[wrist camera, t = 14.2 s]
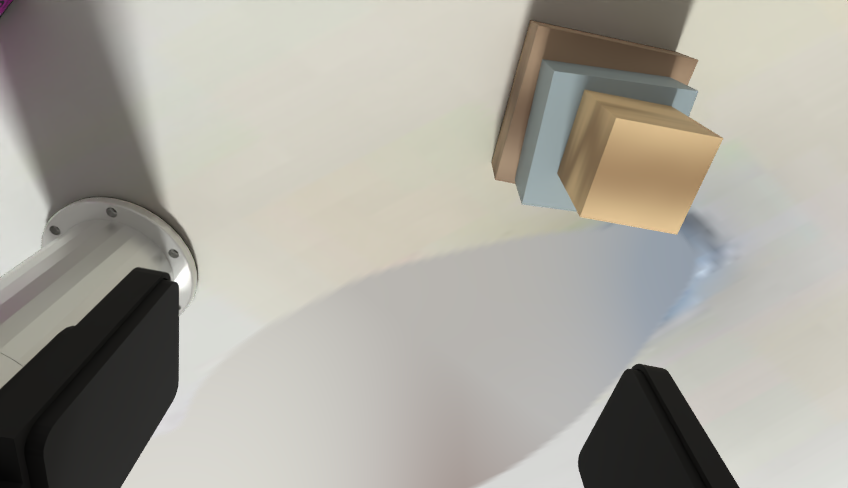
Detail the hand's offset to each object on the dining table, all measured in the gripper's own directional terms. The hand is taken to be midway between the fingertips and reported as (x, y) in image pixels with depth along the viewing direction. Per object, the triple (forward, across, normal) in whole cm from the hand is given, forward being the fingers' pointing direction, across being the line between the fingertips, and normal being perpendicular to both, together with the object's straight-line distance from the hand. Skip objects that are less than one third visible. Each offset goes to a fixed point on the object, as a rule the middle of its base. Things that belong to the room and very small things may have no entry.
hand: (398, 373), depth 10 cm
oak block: (+20, -11, -2) cm, 23 cm away
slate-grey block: (+24, -11, -1) cm, 27 cm away
